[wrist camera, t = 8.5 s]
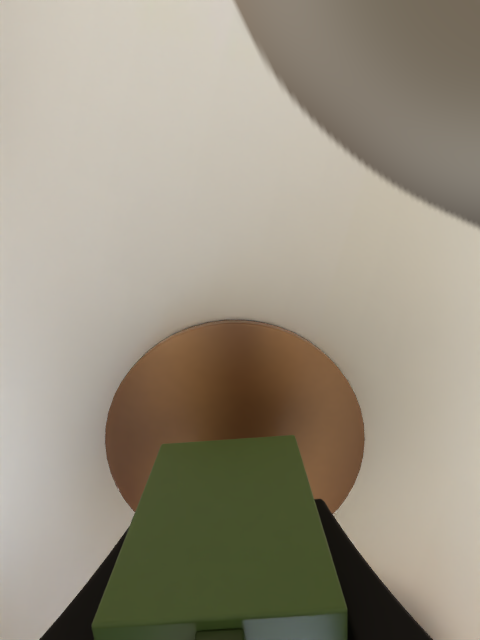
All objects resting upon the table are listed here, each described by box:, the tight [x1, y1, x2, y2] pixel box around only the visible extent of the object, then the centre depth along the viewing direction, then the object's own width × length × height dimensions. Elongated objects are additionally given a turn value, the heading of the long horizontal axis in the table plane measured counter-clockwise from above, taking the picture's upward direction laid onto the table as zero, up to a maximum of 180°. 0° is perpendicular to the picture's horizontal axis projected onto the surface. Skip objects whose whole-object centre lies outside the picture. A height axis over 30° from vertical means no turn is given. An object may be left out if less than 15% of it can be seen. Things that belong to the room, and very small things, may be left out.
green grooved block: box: [92, 435, 347, 640], centre depth 8 cm, size 4×5×5 cm
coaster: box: [105, 320, 365, 514], centre depth 14 cm, size 11×11×1 cm
